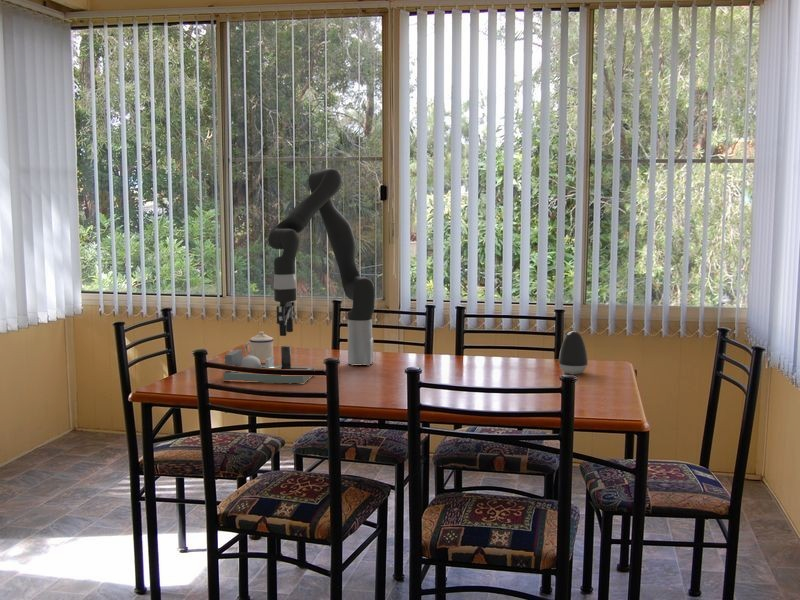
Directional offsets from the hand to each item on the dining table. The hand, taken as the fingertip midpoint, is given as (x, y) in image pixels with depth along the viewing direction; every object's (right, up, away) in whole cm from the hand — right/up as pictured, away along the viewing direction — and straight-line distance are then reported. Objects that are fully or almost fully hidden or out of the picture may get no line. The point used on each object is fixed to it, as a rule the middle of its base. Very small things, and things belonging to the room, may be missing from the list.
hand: (286, 333), depth 286 cm
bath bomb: (-13, -16, +4) cm, 21 cm away
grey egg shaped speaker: (+101, -15, +12) cm, 103 cm away
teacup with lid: (-16, -12, +35) cm, 41 cm away
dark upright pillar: (-3, -15, +2) cm, 16 cm away
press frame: (-6, -16, +3) cm, 17 cm away
